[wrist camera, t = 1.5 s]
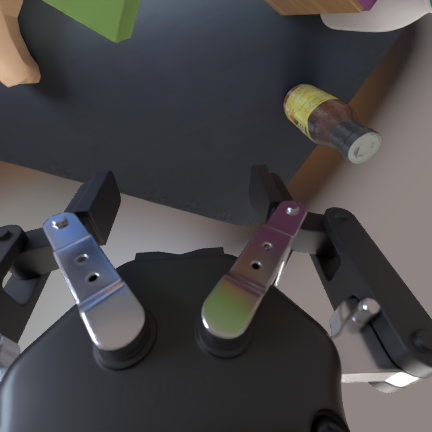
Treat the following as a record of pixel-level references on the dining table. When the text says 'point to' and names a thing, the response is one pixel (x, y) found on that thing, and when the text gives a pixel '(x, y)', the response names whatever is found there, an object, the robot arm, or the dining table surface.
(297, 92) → the sauce bottle
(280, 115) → the dining table surface
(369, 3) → the towel
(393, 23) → the milk bottle
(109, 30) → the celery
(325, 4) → the oak stand
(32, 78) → the squash
